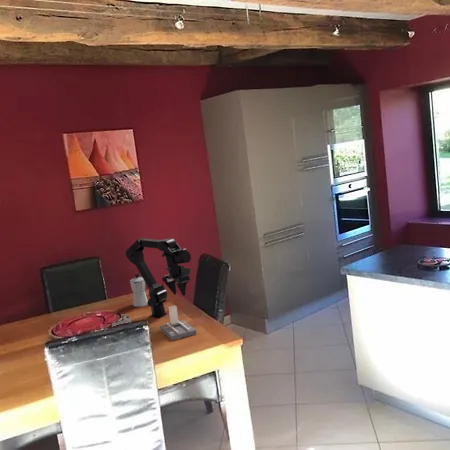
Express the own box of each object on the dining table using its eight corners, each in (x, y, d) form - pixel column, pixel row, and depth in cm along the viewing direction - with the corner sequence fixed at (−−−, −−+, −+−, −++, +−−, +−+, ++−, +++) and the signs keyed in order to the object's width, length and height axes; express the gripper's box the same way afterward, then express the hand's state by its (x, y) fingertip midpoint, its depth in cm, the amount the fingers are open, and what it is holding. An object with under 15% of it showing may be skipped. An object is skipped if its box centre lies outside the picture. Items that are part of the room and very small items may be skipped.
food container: (127, 344, 225) (124, 323, 223) (114, 344, 226) (111, 323, 224) (137, 333, 237) (134, 313, 235) (125, 333, 238) (122, 313, 236)
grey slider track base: (160, 330, 238) (159, 324, 238) (183, 324, 244) (183, 318, 243) (171, 340, 224) (171, 334, 224) (196, 333, 229) (195, 327, 229)
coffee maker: (146, 307, 275) (142, 275, 272) (130, 308, 275) (126, 277, 273) (150, 299, 290) (147, 268, 287) (135, 300, 290) (131, 270, 287)
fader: (169, 324, 238) (167, 306, 236) (177, 323, 239) (175, 304, 238) (171, 326, 235) (169, 308, 233) (179, 324, 237) (177, 306, 235)
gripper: (196, 260, 244) (202, 291, 245) (177, 260, 259) (184, 289, 261) (176, 266, 238) (183, 298, 239) (158, 265, 253) (165, 295, 255)
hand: (179, 294), depth 248 cm, fingers open, 9 cm apart
